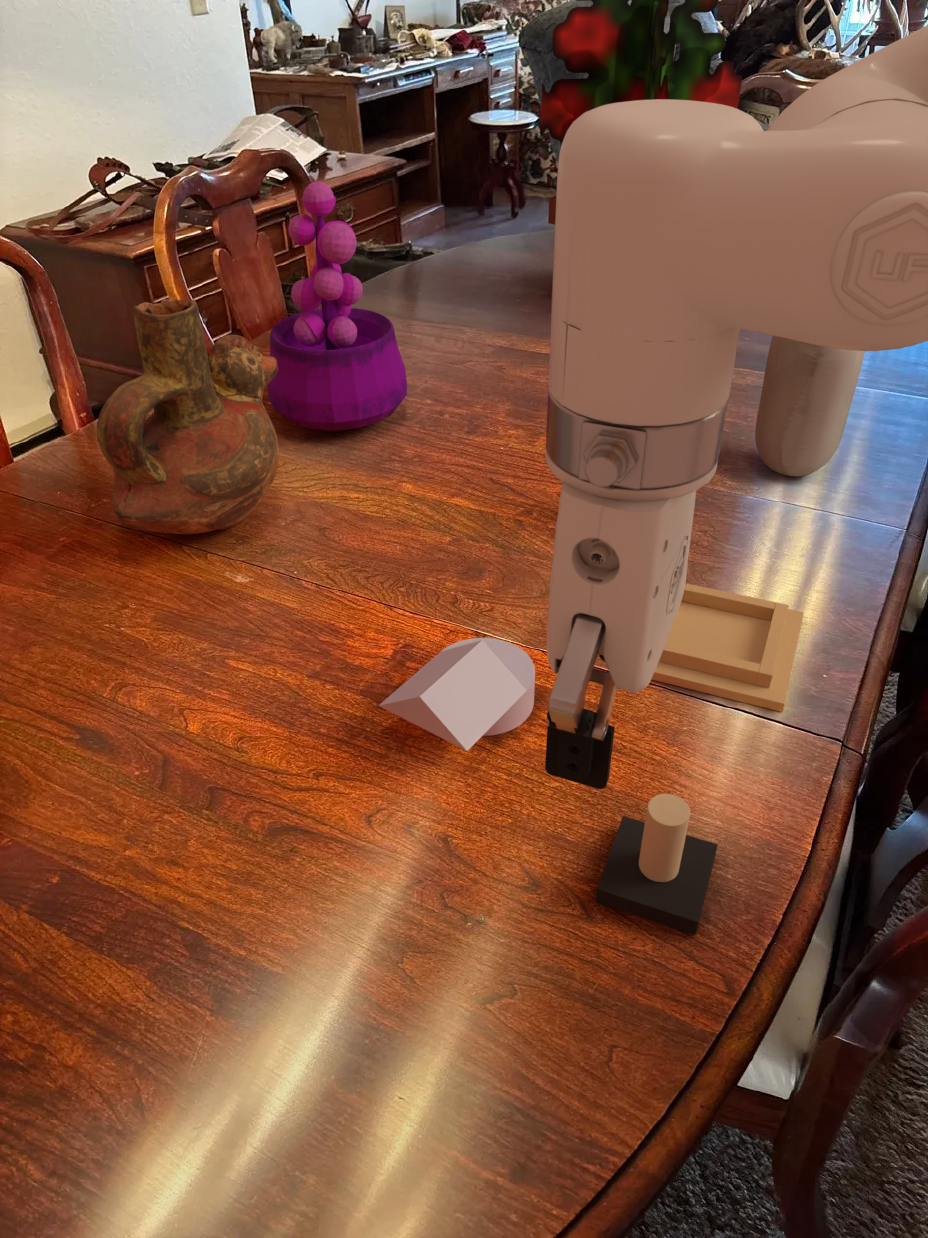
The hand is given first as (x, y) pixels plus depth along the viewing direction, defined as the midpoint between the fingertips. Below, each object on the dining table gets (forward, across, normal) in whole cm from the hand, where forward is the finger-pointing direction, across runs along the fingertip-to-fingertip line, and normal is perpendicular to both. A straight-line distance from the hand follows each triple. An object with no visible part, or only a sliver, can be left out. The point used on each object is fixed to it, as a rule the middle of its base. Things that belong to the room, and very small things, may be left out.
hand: (602, 716), depth 50 cm
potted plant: (+20, +124, +30) cm, 129 cm away
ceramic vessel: (+20, +37, +55) cm, 70 cm away
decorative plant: (+20, +65, +54) cm, 87 cm away
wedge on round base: (+20, +17, +15) cm, 31 cm away
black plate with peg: (+20, +6, -4) cm, 21 cm away
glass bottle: (+20, +72, -5) cm, 75 cm away
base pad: (+20, +34, -3) cm, 40 cm away
